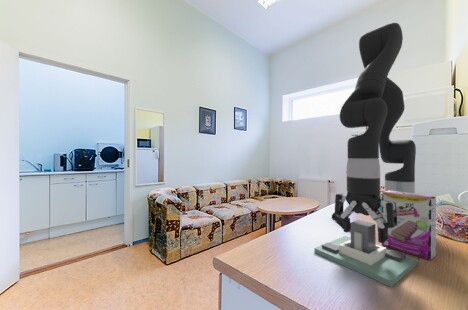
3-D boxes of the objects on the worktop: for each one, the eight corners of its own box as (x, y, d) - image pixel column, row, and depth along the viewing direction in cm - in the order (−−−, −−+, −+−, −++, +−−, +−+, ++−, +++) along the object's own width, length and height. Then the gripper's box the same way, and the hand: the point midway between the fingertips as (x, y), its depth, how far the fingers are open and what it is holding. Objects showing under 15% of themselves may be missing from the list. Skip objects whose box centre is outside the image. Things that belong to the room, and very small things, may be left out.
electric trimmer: (344, 231, 74) (344, 222, 74) (330, 217, 90) (330, 210, 90) (355, 231, 74) (355, 223, 74) (340, 218, 89) (340, 211, 89)
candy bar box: (381, 246, 61) (380, 191, 61) (387, 242, 64) (387, 189, 64) (431, 262, 52) (431, 197, 52) (437, 256, 55) (436, 195, 55)
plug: (358, 248, 57) (358, 219, 57) (375, 254, 53) (375, 223, 53) (349, 253, 54) (349, 223, 54) (366, 259, 51) (366, 227, 51)
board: (344, 239, 66) (344, 229, 66) (417, 264, 51) (417, 251, 51) (314, 252, 57) (314, 241, 57) (391, 286, 42) (391, 271, 42)
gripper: (401, 177, 50) (401, 242, 50) (343, 173, 62) (343, 226, 62) (388, 179, 46) (389, 250, 46) (329, 174, 58) (329, 231, 58)
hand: (363, 236), depth 54 cm, fingers open, 8 cm apart
